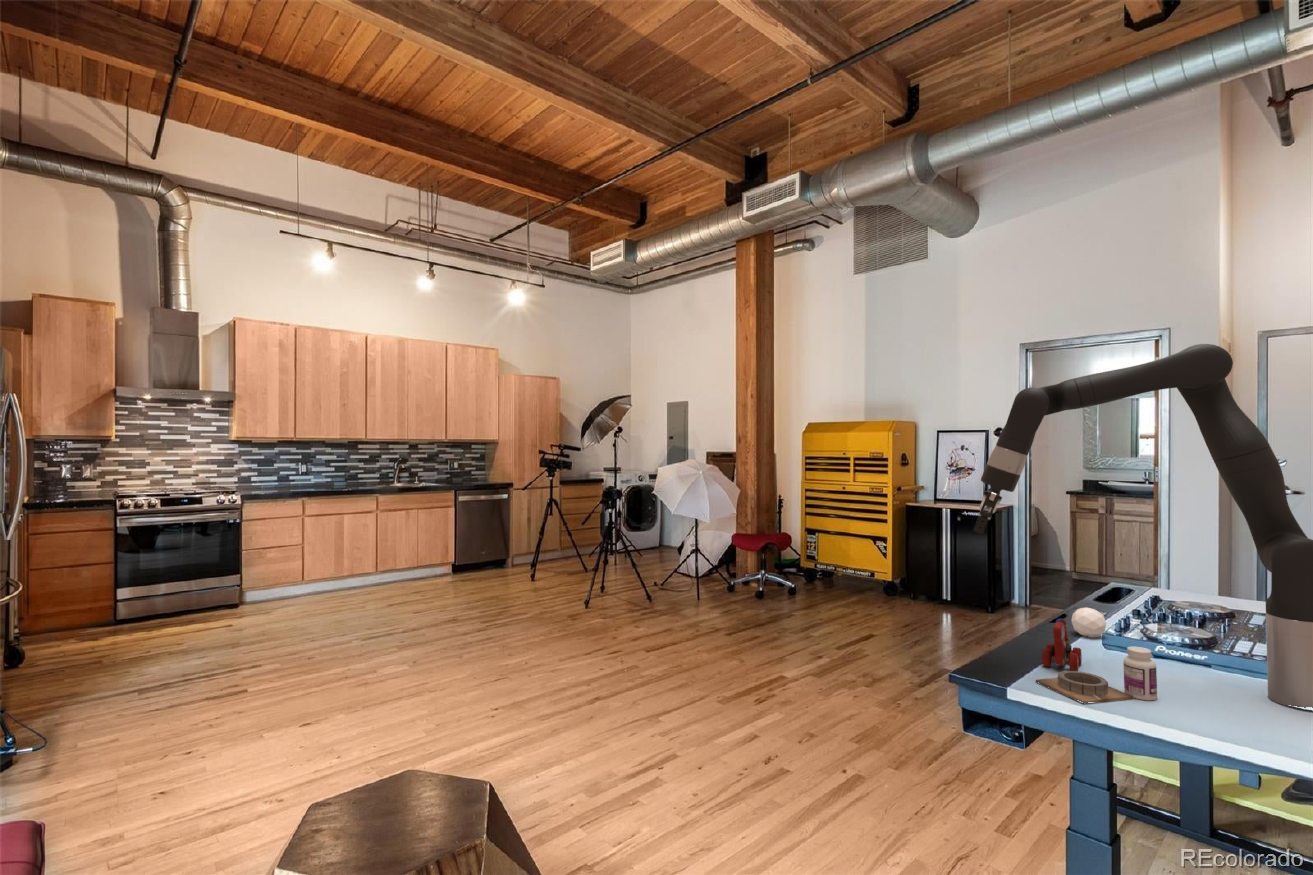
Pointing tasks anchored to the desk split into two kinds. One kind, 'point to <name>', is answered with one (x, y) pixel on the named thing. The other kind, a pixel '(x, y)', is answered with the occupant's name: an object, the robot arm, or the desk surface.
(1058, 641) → the dark red upright piece
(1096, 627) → the geometric ball
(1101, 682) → the collar
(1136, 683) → the pill bottle
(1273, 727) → the desk surface
